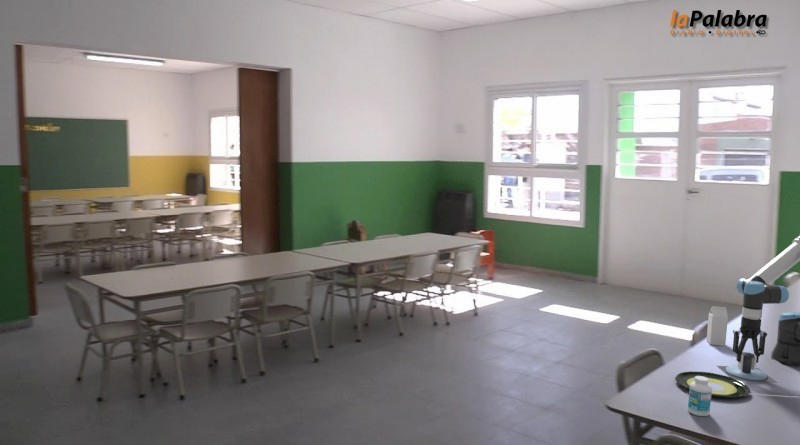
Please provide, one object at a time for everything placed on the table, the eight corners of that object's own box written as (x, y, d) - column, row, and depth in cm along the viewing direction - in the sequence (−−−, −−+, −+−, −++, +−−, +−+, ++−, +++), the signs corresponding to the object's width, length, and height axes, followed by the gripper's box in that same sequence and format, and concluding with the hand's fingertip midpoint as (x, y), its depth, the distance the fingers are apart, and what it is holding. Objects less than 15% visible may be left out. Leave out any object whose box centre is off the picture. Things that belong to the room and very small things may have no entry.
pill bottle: (683, 408, 242) (686, 374, 240) (702, 408, 242) (705, 374, 241) (694, 417, 234) (697, 381, 233) (713, 417, 235) (716, 381, 233)
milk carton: (725, 346, 321) (728, 309, 319) (710, 345, 322) (713, 308, 320) (721, 342, 328) (724, 305, 326) (706, 340, 329) (709, 304, 327)
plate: (719, 407, 245) (720, 400, 245) (659, 382, 270) (660, 376, 269) (765, 395, 258) (765, 389, 258) (704, 372, 283) (704, 367, 282)
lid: (756, 368, 287) (758, 349, 286) (774, 381, 271) (776, 361, 270) (719, 366, 289) (721, 347, 287) (734, 379, 273) (736, 359, 272)
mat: (757, 369, 288) (757, 367, 288) (777, 383, 270) (777, 382, 270) (716, 366, 290) (716, 365, 290) (733, 381, 272) (733, 380, 272)
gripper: (768, 316, 280) (763, 367, 283) (726, 314, 281) (721, 365, 284) (777, 320, 272) (771, 373, 275) (733, 318, 274) (728, 371, 277)
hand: (746, 369), depth 280 cm, fingers closed on lid, 5 cm apart
